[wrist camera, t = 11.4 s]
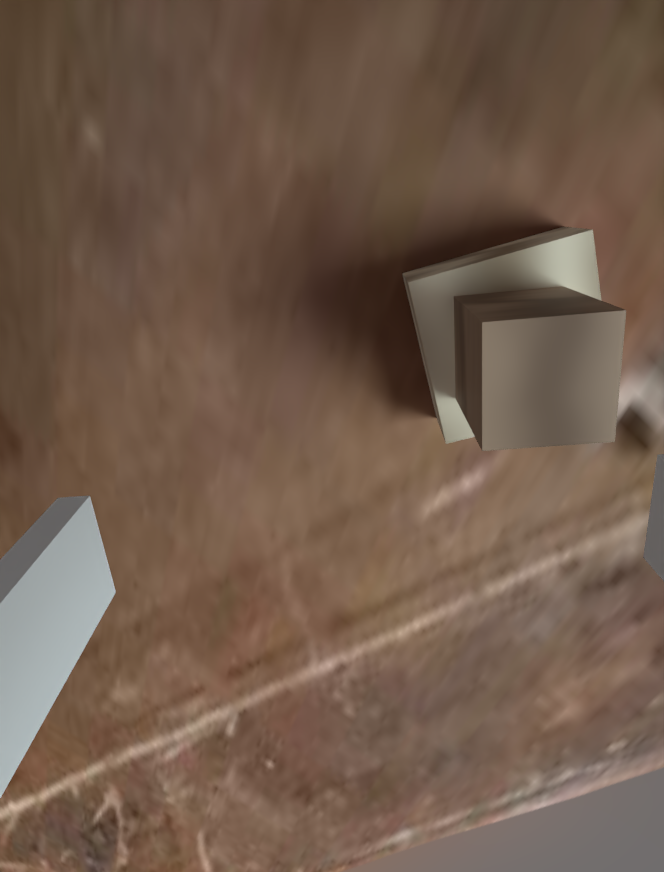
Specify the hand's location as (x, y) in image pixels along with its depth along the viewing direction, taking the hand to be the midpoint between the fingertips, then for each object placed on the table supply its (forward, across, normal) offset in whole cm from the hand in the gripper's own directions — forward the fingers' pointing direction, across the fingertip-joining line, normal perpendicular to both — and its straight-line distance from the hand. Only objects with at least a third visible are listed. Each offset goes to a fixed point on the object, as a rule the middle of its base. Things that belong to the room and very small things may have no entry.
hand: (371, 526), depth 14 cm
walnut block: (+21, +9, -1) cm, 23 cm away
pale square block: (+26, +9, -1) cm, 28 cm away
